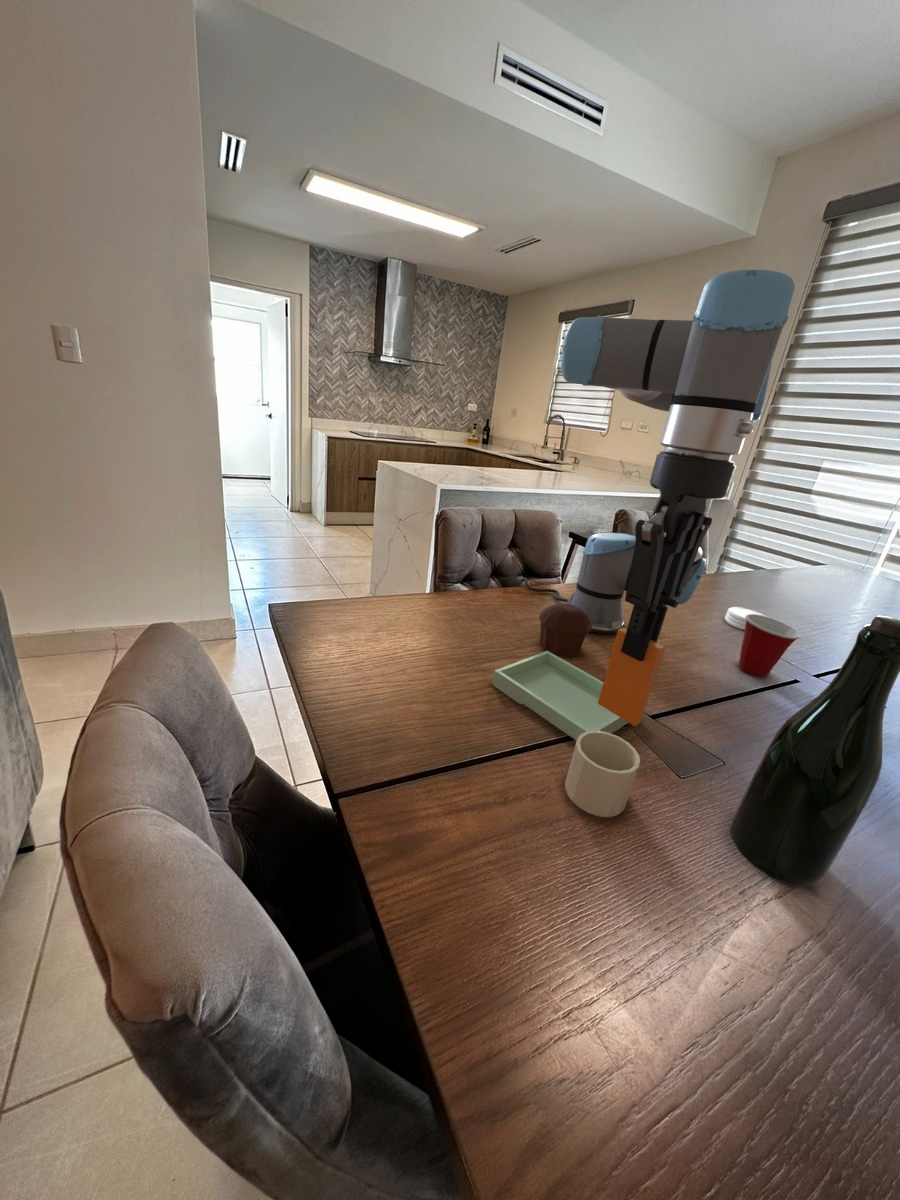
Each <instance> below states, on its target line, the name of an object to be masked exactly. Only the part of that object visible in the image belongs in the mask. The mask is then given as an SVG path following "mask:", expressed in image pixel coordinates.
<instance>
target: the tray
mask: <svg viewBox="0 0 900 1200" xmlns="http://www.w3.org/2000/svg"><path fill="white" fill-rule="evenodd" d="M492 678H493V679H492V681H491V682H492V683H491V686H493V687H495V688H496V689H497V690H499V691H500V692H502V693H503V694H505V695H506V696H508V698H510V699H511V700H513V701H515V702H516V703H518V704H519V705H524V706H526V707H527V708H529V709H530V710H531V711H533V712H534V713H536V714H537V715H539V716H540V717H542V718H543V719H545V720H546V721H547V722H549V723H550V724H552V725H553V726H555V727H557V728H558V729H559V730H560V731H562V732H563V733H565V734H566V735H568V736H569V737H570V738H571V739H574V740H575V742H576V741H577V739H578V737H579V735H581V734H583V733H585V732H588V731H602V732H608V733H611V734H613V733H615V732H616V731H618V730H620V729H621V728H623V727H625V726H626V725H628V724H630V723H629V722H627V721H625V720H624V719H622V718H620V717H619V716H617V715H615V714H614V713H612V712H611V711H609V710H607V709H606V708H604V707H602V706H601V705H599V704H598V700H599V697H600V693H601V690H602V686H603V683H604V681H602V680H601V679H598V678H597V677H595V676H593V675H592V674H590V673H588V672H586V671H584V670H583V669H581V668H579V667H577V666H575V665H573V664H571V663H570V662H568V661H566V660H564V659H563V658H561V657H560V656H557V655H554V654H552V653H550V652H549V651H545V650H544V651H543V652H540V653H537V654H534V655H532V656H529V657H527V658H523V659H521V660H519V661H516V662H514V663H511V664H508V665H505V666H502V667H499V668H497V669H495V670H494V672H493V677H492Z"/></svg>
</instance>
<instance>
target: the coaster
mask: <svg viewBox="0 0 900 1200" xmlns="http://www.w3.org/2000/svg"><path fill="white" fill-rule="evenodd" d="M747 614H757V615H762V616H765V615H764V614H762V613H760V612H758V611H756V610H753V609H750V608H747V607H740V606H731V607H729V608H728V609H727V612H726V614H725V616H724V621H725V622H726V623H727V624H729V625H731V626H732V627H734V628H737V629H739V630H742V631H745V626H746V625H745V624H746V618H745V617H746V615H747Z"/></svg>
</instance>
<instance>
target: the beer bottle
mask: <svg viewBox="0 0 900 1200" xmlns="http://www.w3.org/2000/svg"><path fill="white" fill-rule="evenodd" d="M899 674H900V619H899V618H895V617H891V616H887V615H876V616H874V618H873V619H871V623H870V624H865V625H864V626H863V627H862V628H861V629H860V630H859V632H858V633H857V636H856V639H855V642H854V645H853V646H852V648H851V650H850V652H849V654H848V656H847V658H845V661H844V662H843V664H842V666H841V667H840V669H839V671H838V672H837V674H836V675H835V676H834V678H833V679H832V681H831V682H830V683H829V684H828V686H827V687H825V688H824V690H822V692H821V693H819V694H818V695H817V696H816V697H815V698H814V699H812V700H811V701H809V702H808V703H807V704H806V705H804V706H803V707H802V708H800V709H799V710H798V711H796V713H794V714H793V715H791V716H790V717H789V718H788V719H786V721H785V722H784V723H783V724H782V725H781V727H780V728H779V729H778V730H777V731H776V733H775V734H774V736H773V738H772V740H771V742H770V743H769V745H768V747H767V748H766V750H765V752H764V754H763V756H762V758H761V760H760V761H759V764H758V766H757V768H756V769H755V772H754V773H753V776H752V778H751V780H750V782H749V784H748V786H747V787H746V790H745V791H744V793H743V796H742V798H741V800H740V802H739V803H738V806H737V807H736V810H735V812H734V813H733V816H732V819H731V822H730V824H729V832H730V833H729V834H730V835H731V836H730V837H731V839H732V841H733V843H734V845H735V846H736V848H737V850H738V851H739V852H740V853H741V855H743V856H744V858H745V859H746V860H747V861H749V862H750V863H751V864H752V865H753V866H754V867H756V868H757V869H759V870H760V871H761V872H762V873H765V874H766V875H767V876H769V878H772V879H774V880H776V881H779V882H780V883H783V884H786V885H789V886H794V887H799V888H801V887H802V888H807V887H812V886H813V887H814V886H816V885H818V884H819V883H821V882H822V880H823V879H824V878H825V876H826V875H827V874H828V873H829V871H830V869H831V867H832V865H834V862H835V861H836V859H837V857H838V855H839V853H840V852H841V850H842V848H843V847H844V845H845V843H846V842H847V839H848V838H849V836H850V834H851V833H852V831H853V829H854V827H855V825H856V823H858V821H859V818H860V816H861V815H862V813H863V811H864V809H865V808H866V806H867V804H868V802H869V800H870V798H871V796H872V795H873V792H874V790H875V788H876V786H877V784H878V782H879V779H880V774H881V770H882V768H883V727H884V726H883V725H884V723H883V722H884V715H885V710H886V705H887V703H888V701H889V697H890V693H891V691H892V689H893V687H894V685H895V683H896V682H897V681H896V680H897V679H898V676H899Z"/></svg>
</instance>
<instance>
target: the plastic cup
mask: <svg viewBox="0 0 900 1200" xmlns="http://www.w3.org/2000/svg"><path fill="white" fill-rule="evenodd" d="M762 615H763V614H762ZM762 615H757V614H747V615H746V617H745V618H746V624H745V625H746V626H745V630H744V632H743V639H742V643H741V647H740V656H739V659H738V667H739V669H740V670H741V671H743V672H744V673H746V674H748V675H750V676H754V677H758V678H766V677H767V676H768V675H769V674H770V672H771V671H772V670H773V669H774V667H775V666H776V665H777V664H778V662H779V661H780V660H781V658H782V656H784V654H785V652H786V651H787V650H788V648H789V647H791V645H792V644H793V643H794V642H796V640H798V639H800V638H801V637H802V636H803V635H802V634H801V632H800V631H799V630H797V629H796V628H795V627H793V626H791V625H789V624H787V623H785V622H783V621H780V620H778V619H775V618H773V617H769V616H767V615H764V616H762Z"/></svg>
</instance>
